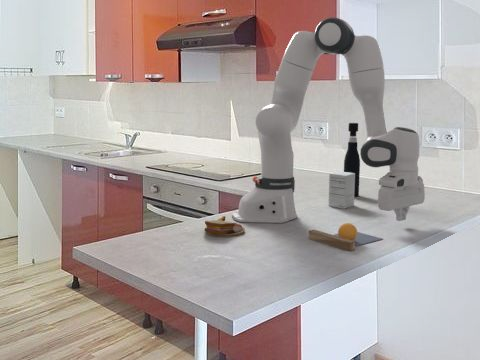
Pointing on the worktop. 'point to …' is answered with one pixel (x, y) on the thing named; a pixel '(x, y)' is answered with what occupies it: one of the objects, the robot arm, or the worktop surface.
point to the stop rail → (332, 240)
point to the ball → (347, 231)
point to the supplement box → (341, 189)
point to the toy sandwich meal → (223, 228)
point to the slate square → (363, 239)
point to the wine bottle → (353, 156)
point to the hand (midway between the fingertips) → (401, 220)
